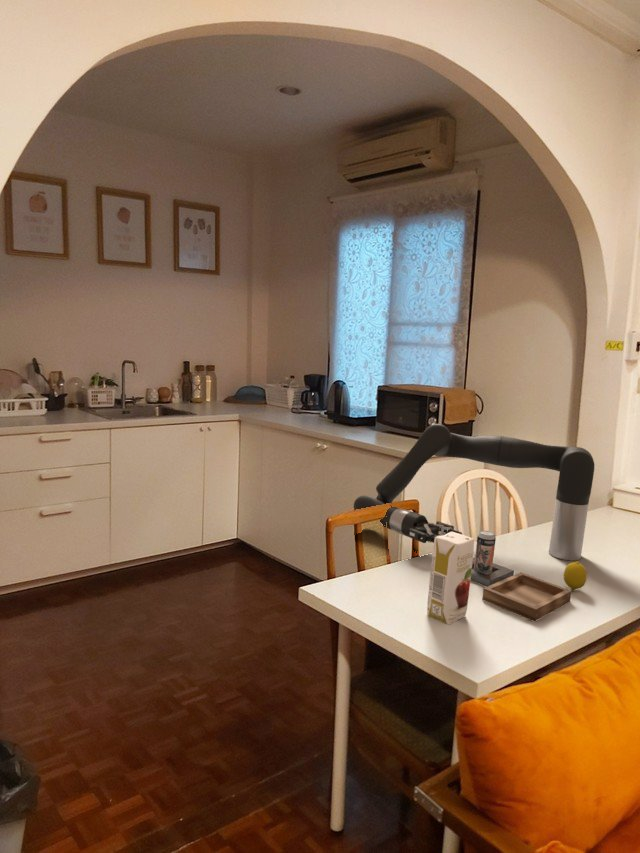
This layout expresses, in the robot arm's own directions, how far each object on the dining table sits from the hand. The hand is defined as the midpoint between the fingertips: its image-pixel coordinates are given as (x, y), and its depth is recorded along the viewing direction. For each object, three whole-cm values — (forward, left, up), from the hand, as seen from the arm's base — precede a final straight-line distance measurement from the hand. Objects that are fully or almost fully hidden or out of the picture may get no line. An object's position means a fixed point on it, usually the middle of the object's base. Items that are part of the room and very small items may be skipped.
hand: (452, 539), depth 177 cm
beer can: (0, +11, -7) cm, 13 cm away
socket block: (0, +11, -7) cm, 13 cm away
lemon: (-12, +31, -7) cm, 34 cm away
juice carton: (+29, +20, -7) cm, 36 cm away
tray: (+5, +27, -7) cm, 28 cm away
